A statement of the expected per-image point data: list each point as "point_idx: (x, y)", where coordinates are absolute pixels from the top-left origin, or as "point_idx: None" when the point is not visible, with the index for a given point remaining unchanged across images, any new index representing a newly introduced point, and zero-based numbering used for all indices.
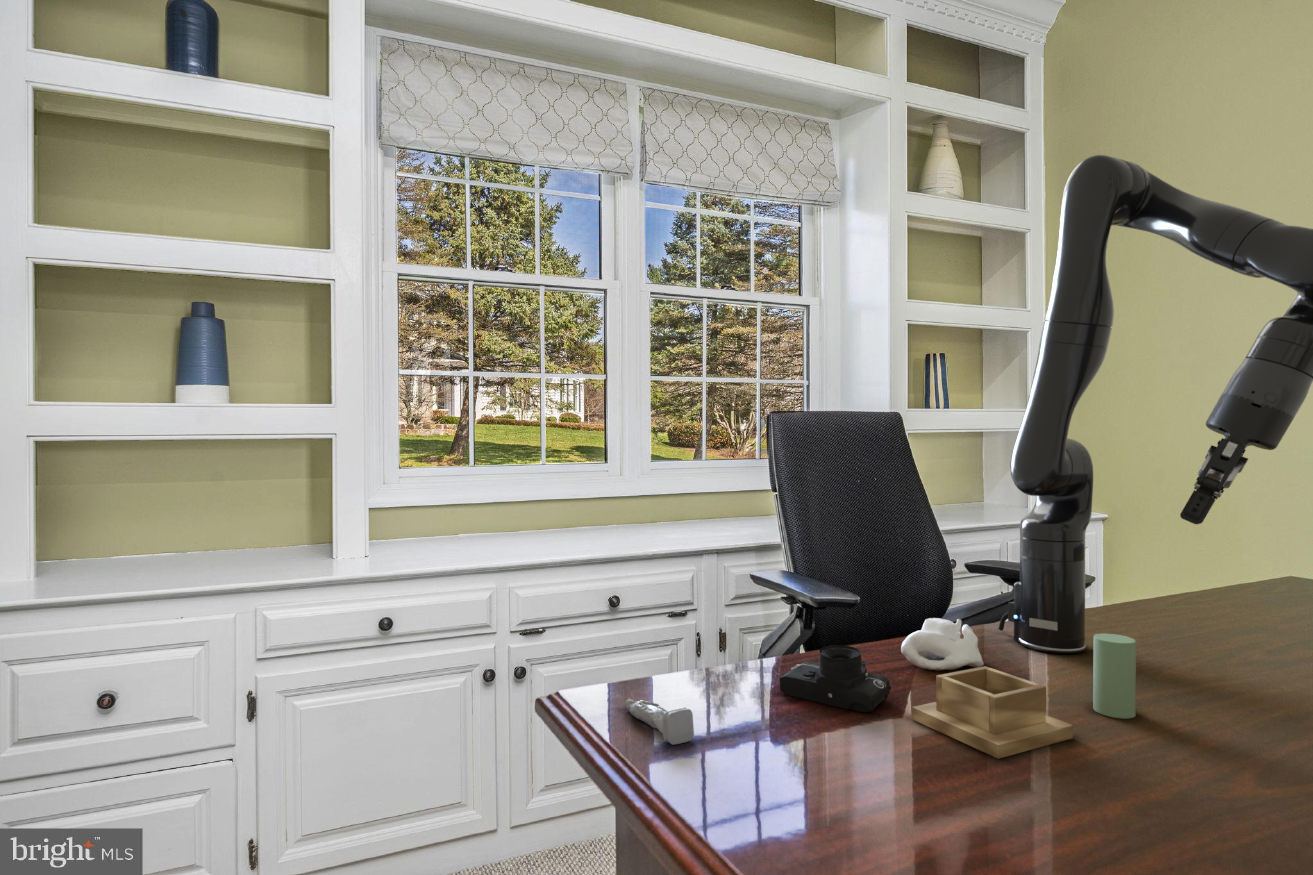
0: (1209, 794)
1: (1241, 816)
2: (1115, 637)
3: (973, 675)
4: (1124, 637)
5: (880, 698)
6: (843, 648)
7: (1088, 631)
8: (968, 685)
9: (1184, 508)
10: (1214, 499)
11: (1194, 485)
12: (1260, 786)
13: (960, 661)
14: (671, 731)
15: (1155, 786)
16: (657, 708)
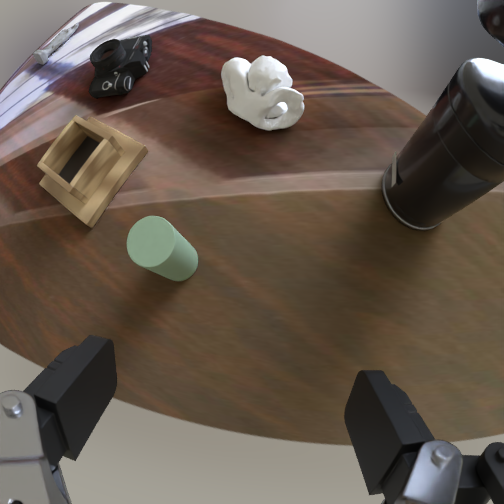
0: (38, 315)
1: (21, 327)
2: (153, 242)
3: (95, 134)
4: (159, 253)
5: (104, 94)
6: (117, 47)
7: (498, 235)
8: (57, 141)
9: (76, 349)
10: (371, 492)
11: (15, 396)
12: None
13: (231, 109)
14: (36, 59)
15: (36, 283)
16: (54, 40)
